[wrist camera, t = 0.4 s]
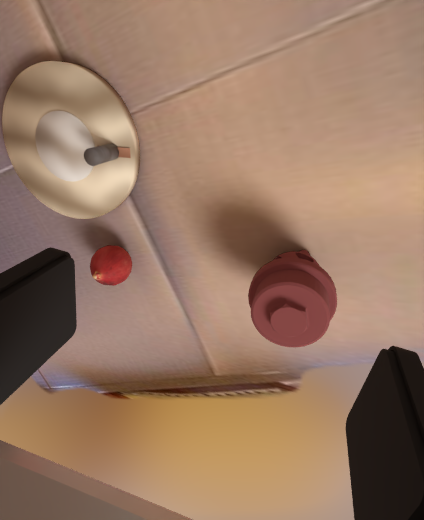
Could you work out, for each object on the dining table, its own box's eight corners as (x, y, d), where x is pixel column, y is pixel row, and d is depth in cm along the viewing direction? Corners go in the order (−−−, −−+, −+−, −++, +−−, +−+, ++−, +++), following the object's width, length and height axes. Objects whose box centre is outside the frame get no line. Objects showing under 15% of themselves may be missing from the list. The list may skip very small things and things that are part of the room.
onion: (143, 272, 53) (117, 298, 46) (111, 270, 55) (82, 295, 48) (137, 238, 51) (109, 260, 44) (104, 237, 52) (71, 258, 45)
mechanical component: (336, 300, 46) (264, 302, 49) (330, 231, 42) (253, 239, 46) (342, 361, 35) (249, 359, 39) (335, 277, 32) (233, 283, 35)
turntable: (-3, 60, 44) (-50, 55, 39) (135, 63, 40) (105, 58, 34) (28, 207, 53) (-6, 220, 48) (144, 223, 49) (121, 239, 43)
